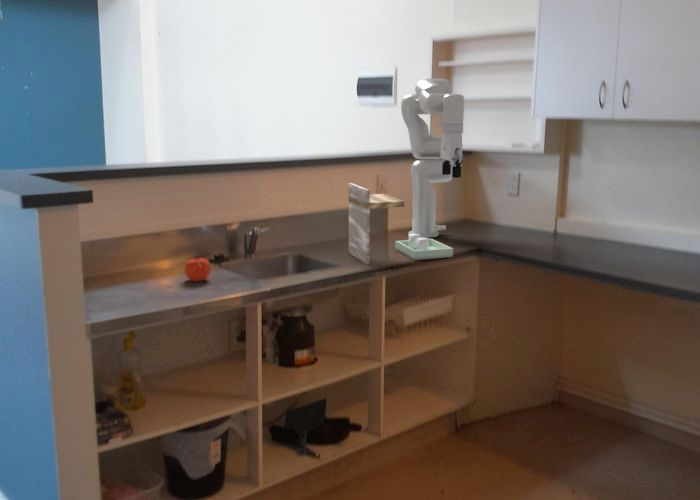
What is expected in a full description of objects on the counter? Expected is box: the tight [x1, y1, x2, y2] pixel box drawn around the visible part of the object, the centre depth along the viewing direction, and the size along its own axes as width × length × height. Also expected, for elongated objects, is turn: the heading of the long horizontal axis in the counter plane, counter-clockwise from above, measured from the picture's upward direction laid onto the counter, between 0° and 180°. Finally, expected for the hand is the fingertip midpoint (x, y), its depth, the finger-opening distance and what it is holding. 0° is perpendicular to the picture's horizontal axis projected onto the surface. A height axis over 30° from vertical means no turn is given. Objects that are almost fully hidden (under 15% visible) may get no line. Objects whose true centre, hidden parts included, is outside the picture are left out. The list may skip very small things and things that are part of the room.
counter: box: [348, 182, 405, 265], centre depth 256 cm, size 14×20×26 cm
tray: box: [394, 238, 454, 261], centre depth 264 cm, size 15×19×3 cm
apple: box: [184, 255, 212, 282], centre depth 226 cm, size 8×8×8 cm
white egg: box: [417, 238, 430, 251], centre depth 259 cm, size 4×4×6 cm
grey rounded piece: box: [408, 233, 420, 250], centre depth 267 cm, size 4×4×6 cm
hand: (451, 175), depth 262 cm, fingers open, 9 cm apart
